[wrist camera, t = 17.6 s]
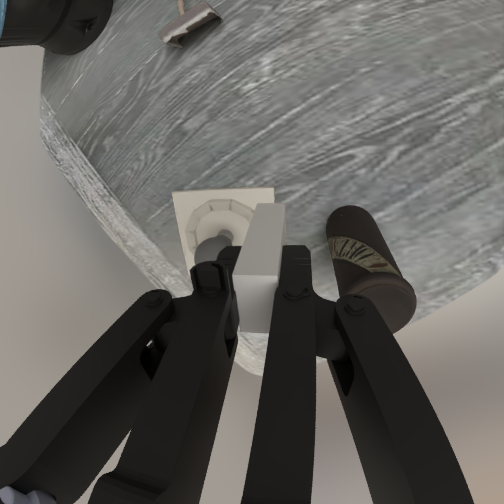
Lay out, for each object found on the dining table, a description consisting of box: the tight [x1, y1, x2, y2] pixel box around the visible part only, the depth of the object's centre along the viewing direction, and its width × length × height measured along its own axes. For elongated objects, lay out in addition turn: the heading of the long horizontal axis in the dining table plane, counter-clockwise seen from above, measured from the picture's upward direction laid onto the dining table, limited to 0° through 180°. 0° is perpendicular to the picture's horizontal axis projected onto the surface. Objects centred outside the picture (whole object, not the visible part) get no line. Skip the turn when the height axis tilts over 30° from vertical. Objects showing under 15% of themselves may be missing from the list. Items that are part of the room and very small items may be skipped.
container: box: [326, 206, 416, 334], centre depth 34 cm, size 9×9×20 cm
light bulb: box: [194, 230, 234, 265], centre depth 41 cm, size 6×6×10 cm
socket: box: [172, 186, 275, 276], centre depth 46 cm, size 16×16×2 cm
